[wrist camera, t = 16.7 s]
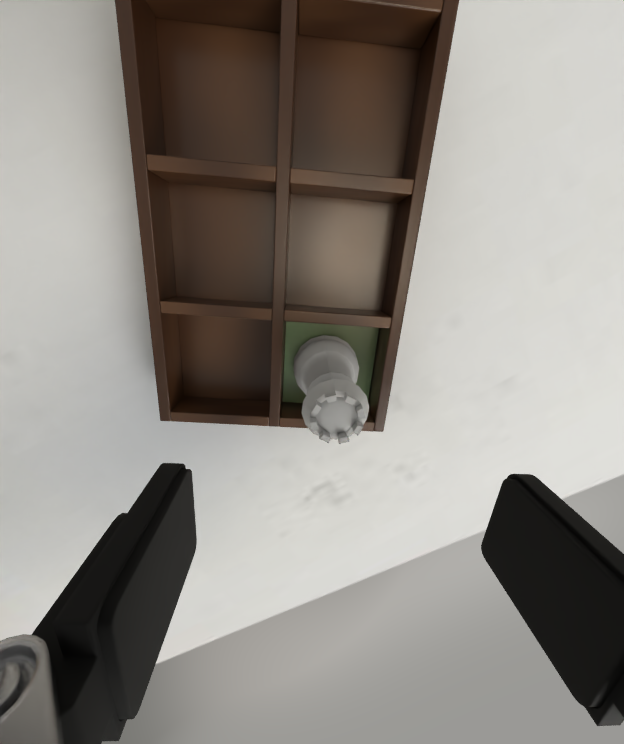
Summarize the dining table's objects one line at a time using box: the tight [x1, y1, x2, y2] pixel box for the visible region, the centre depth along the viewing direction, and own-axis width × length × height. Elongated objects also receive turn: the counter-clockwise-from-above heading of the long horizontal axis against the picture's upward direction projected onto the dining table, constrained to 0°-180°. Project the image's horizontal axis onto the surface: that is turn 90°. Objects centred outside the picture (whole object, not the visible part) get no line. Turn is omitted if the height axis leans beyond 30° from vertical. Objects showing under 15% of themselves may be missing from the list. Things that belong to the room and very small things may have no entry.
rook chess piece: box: [293, 335, 369, 444], centre depth 17 cm, size 4×4×8 cm
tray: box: [115, 0, 459, 432], centre depth 18 cm, size 15×22×3 cm
